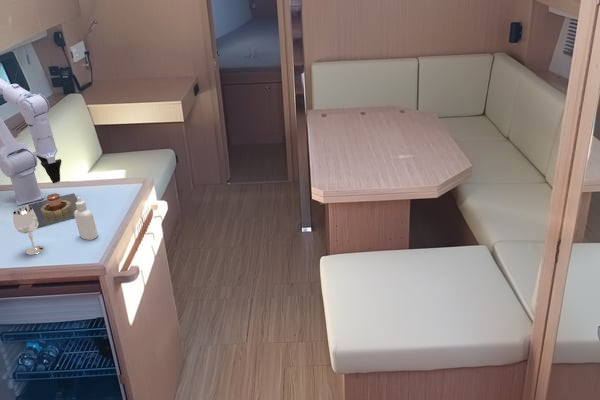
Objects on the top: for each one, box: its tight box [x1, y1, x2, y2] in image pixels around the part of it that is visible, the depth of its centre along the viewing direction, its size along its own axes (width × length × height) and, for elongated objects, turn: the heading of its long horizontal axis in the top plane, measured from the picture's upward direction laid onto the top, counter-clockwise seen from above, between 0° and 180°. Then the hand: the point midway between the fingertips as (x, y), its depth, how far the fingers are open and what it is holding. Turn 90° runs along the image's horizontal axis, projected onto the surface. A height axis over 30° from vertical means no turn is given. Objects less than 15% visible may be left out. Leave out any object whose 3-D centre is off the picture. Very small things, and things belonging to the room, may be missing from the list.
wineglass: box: [12, 206, 45, 256], centre depth 148 cm, size 6×6×12 cm
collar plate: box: [27, 192, 78, 229], centre depth 172 cm, size 18×14×2 cm
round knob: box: [46, 192, 63, 211], centre depth 169 cm, size 4×4×5 cm
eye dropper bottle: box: [74, 196, 99, 241], centre depth 153 cm, size 4×6×12 cm
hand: (54, 178), depth 172 cm, fingers open, 7 cm apart
